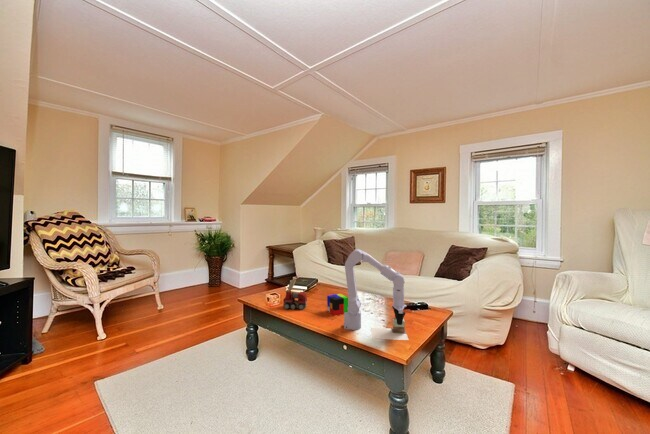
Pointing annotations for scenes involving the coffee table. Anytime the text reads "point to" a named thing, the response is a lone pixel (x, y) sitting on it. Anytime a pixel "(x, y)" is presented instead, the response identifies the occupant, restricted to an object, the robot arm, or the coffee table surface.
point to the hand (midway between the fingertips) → (398, 322)
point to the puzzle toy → (337, 304)
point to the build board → (388, 334)
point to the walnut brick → (399, 329)
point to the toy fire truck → (290, 298)
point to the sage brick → (397, 324)
